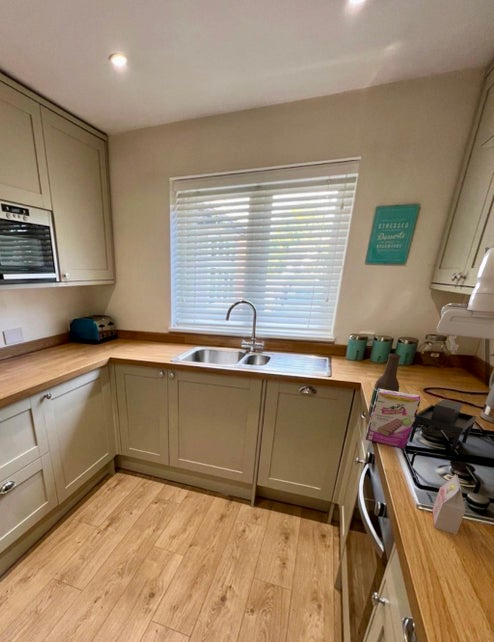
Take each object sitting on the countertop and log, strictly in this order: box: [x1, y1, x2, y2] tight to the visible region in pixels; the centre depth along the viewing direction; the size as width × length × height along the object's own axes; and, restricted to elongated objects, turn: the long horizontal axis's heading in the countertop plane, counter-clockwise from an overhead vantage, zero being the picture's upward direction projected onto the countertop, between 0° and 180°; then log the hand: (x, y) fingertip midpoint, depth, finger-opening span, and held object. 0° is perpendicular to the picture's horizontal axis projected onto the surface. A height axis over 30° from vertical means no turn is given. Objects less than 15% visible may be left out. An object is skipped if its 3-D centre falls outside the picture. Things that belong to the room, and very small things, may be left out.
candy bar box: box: [365, 389, 422, 450], centre depth 101 cm, size 11×5×16 cm, turn 59°
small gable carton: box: [432, 473, 467, 535], centre depth 68 cm, size 4×7×10 cm, turn 147°
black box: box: [431, 398, 463, 424], centre depth 102 cm, size 5×8×5 cm, turn 129°
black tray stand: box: [408, 404, 477, 456], centre depth 104 cm, size 12×15×9 cm
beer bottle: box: [367, 352, 402, 419], centre depth 119 cm, size 8×8×24 cm
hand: (472, 353), depth 97 cm, fingers open, 8 cm apart
